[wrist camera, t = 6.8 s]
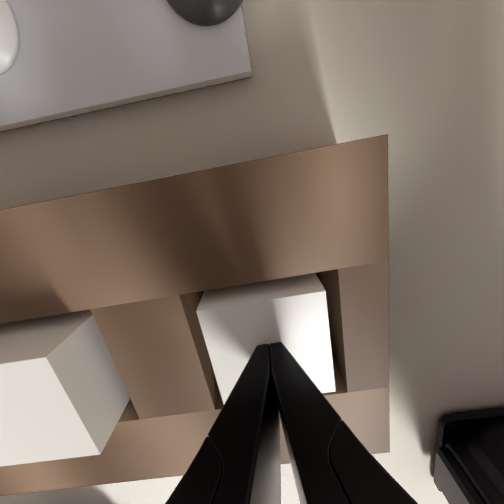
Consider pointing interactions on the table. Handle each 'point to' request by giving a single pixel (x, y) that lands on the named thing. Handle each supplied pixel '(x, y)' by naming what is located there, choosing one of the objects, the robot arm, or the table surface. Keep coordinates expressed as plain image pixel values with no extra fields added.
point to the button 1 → (268, 327)
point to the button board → (193, 286)
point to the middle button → (56, 389)
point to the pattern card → (112, 53)
